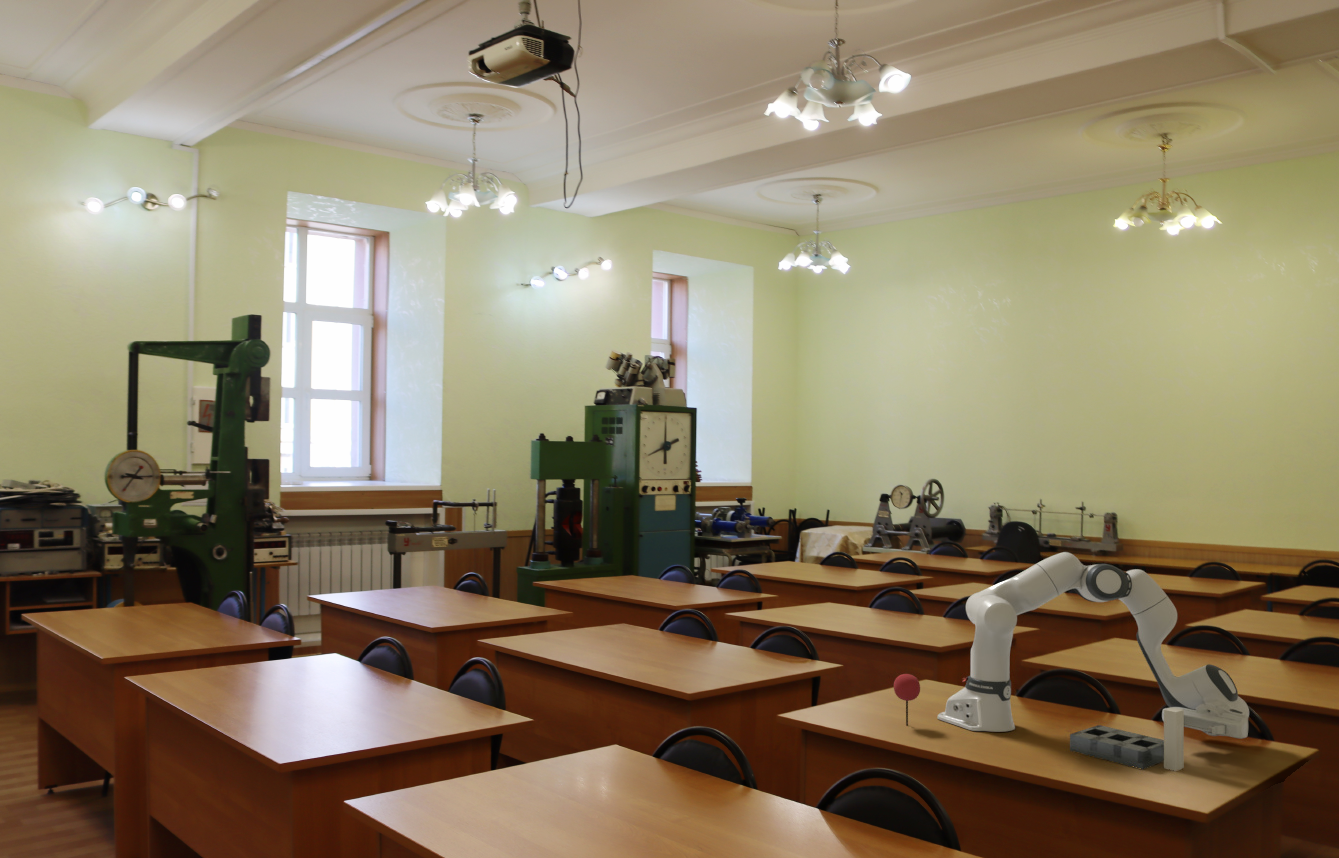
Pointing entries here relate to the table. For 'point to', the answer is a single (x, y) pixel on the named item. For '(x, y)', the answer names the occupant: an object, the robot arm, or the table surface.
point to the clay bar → (1174, 738)
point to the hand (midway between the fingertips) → (1191, 726)
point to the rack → (1118, 746)
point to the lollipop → (906, 689)
